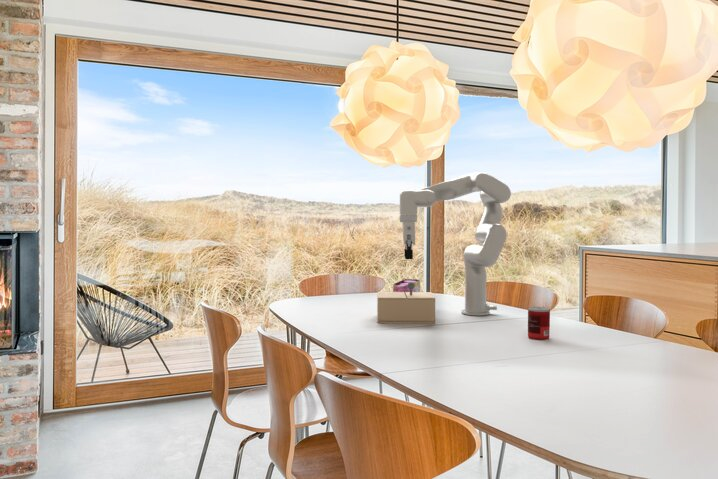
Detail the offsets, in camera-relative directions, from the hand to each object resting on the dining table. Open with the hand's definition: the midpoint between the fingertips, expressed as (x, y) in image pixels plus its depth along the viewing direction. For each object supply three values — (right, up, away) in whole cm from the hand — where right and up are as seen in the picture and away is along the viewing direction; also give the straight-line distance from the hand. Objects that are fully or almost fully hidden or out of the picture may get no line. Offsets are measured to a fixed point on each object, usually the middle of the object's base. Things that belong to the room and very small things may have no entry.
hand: (408, 258), depth 246 cm
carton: (-1, -26, 0) cm, 26 cm away
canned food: (+45, -28, -37) cm, 65 cm away
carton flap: (+5, -16, -1) cm, 17 cm away
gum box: (+1, -26, +25) cm, 36 cm away
